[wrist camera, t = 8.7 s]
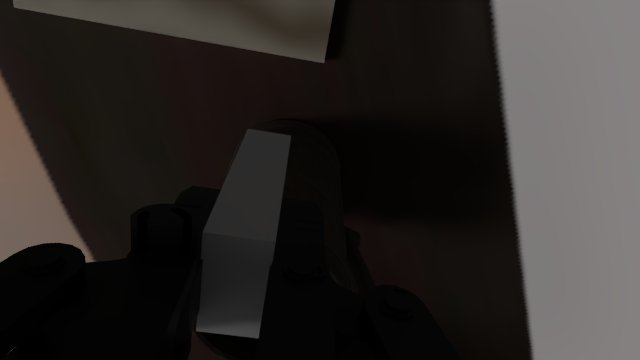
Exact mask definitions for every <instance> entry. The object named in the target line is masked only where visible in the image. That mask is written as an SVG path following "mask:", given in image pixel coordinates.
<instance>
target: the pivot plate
mask: <svg viewBox="0 0 640 360" xmlns="http://www.w3.org/2000/svg"><path fill="white" fill-rule="evenodd" d="M13 3H14V7H15V8H21V9H26V10H32V11H37V12H43V13H48V14H54V15H59V16H65V17H71V18H76V19H82V20H87V21H93V22H98V23H104V24H109V25H115V26H121V27H126V28H132V29H137V30H143V31H148V32H154V33H159V34H165V35H171V36H176V37H182V38H187V39H193V40H198V41H204V42H209V43H215V44H221V45H226V46H232V47H237V48H243V49H248V50H254V51H259V52H265V53H271V54H276V55H282V56H287V57H293V58H298V59H304V60H309V61H315V62H321V63H324V60H325V54H326V49H327V43H328V38H329V32H330V26H331V21H332V15H333V10H334V4H335V0H13Z"/></svg>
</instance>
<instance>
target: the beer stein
mask: <svg viewBox="0 0 640 360" xmlns="http://www.w3.org/2000/svg"><path fill="white" fill-rule="evenodd" d="M253 130H259V131H265V132H271V133H278V134H284V135H290V136H291V140H290V147H289V154H288V161H287V167H286V174H285V181H284V188H283V195H282V198H287V199H294V200H301V201H308V202H314V203H316V204H317V205H318V206H319V208H320V209H321V210H322V212H323V218H324V224H323V225H324V243H325V265H326V267H327V268H328V269H329V272H330V275H331V278H332V279H333V280H334V281H335V282H336V283H337V284H339V285H340V286H342V287H344V288H346V289H348V290H350V291H352V292H355V293H358V294H361V295H363V296H366V293H367V291H369V290H370V289H372V288H373V287H375V285H374V282H373V280H372V277H371V275H370V273H369V271H368V268H367V266H366V264H365V262H364V260H363V258H362V256H361V254H360V252H359V250H358V246H359V245H360V240H361V239H360V234H359V233H358V232H356V231H353V230H351V229H349V228H347V227H346V226H344V218H343V205H342V192H341V181H340V178H341V165H340V161H339V157H338V154H337V151H336V149H335V148H334V146H333V145H332V143H331V142H330V140H329V139H328V138H327V137H326V136H325V135H324V134H323V133H321V132H320V131H319V130H318V129H316V128H314V127H312V126H311V125H308V124H306V123H303V122H300V121H295V120H288V119H287V120H274V121H270V122H266V123H263V124H261V125H259V126H257V127H255V128H254V129H253ZM244 137H245V136H244ZM244 137H243V138H242V139H241V140H240V142H239V143H238V145H237V147H236V149H235V151H234V153H233V156H232V159H231V161H230V164H229V166H228V170H227V175H228V173H229V171H230V168H231V166H232V164H233V162H234V159H235V157H236V155H237V152H238V150H239V148H240V146H241V143H242V141H243V139H244ZM227 175H226V178H227ZM196 324H197V319H196V322H195V325H194V327H193V330H192V331H193V333H194V334H195V336H196V337H197V338H198V340H199V341H200V342H202V343H203V344H204V345H205V346H206V347H207V348H208V349H209V350H210V351H211V352H213V353H215V354H216V355H218V356H220V357H222V358H225V359H227V360H255V357H256V351H257V345H258V338H250V337H242V336H233V335H225V334H216V333H208V332H200V331H196Z"/></svg>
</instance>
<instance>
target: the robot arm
mask: <svg viewBox="0 0 640 360" xmlns="http://www.w3.org/2000/svg"><path fill="white" fill-rule="evenodd" d="M290 140H291V136H290V135H284V134H278V133H271V132H265V131H259V130H253V129H248V130H247V132H246V134H245V137H244V139H243V141H242V143H241V146H240V148H239V150H238V152H237V155H236V157H235V159H234V162H233V164H232V166H231V168H230V171H229V173H228V175H227V178H226V180H225V182H224V184H223V187H222V189H221V190H218V189H211V188H204V187H197V186H192V187H190V188H188V189H187V190H185V191H183V192H182V193H180V195H179V196H178V198H177V199H176V201H175V203H174V204H156V205H149V206H146V207H143V208H141V209H138V210H137V211H136V212H134V213H133V214H132V215H131V251H130V252H129V254H128V255H127V257H126V258H123V259H120V260H112V261H102V262H88V263H85V256H84V254H83V253H82V251H81V250H80V249H78V248H77V247H75V246H73V245H69V244H63V243H46V244H40V245H36V246H32V247H28V248H26V249H23V250H21V251H19V252H17V253H15V254H13V255H12V256H10V257H8V258H7V259H5V260H4V261H2V262H0V360H187V359H188V356H189V353H190V350H191V335H192V330H193V327H194V325H195V322H196V319H197V324H196V331H200V332H208V333H216V334H225V335H233V336H242V337H250V338H258V345H257V351H256V357H255V360H461V359H460V358H459V356H458V355H457V353H456V352H455V350H454V349H453V347H452V345H451V344H450V342H449V341H448V339H447V338H446V336H445V335H444V333H443V332H442V330H441V328H440V327H439V325H438V324H437V322H436V321H435V319H434V318H433V316H432V315H431V313H430V311H429V310H428V308H427V307H426V305H425V304H424V303H423V302H422V301H421V300H420V299H419V298H418V297H417V296H416V295H414V294H413V293H411V292H410V291H408V290H406V289H403V288H400V287H397V286H391V285H380V286H375V287H373V288H372V289H370V290H369V291H367V293H366V296H363V295H361V294H358V293H355V292H352V291H350V290H348V289H346V288H344V287H342V286H340V285H339V284H337V283H336V282H335V281H334V280H333V279H332V278H331V275H330V272H329V269H328V268H327V267H326V265H325V243H324V225H323V224H324V218H323V212H322V210H321V209H320V208H319V206H318V205H317V204H316V203H314V202H308V201H301V200H294V199H287V198H282V195H283V188H284V181H285V174H286V167H287V161H288V154H289V147H290ZM12 349H13V350H12ZM11 350H12V351H11Z"/></svg>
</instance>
